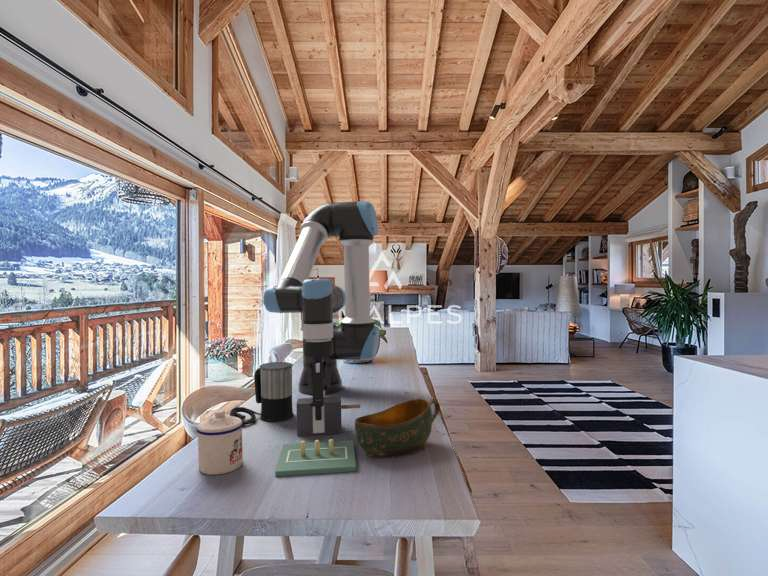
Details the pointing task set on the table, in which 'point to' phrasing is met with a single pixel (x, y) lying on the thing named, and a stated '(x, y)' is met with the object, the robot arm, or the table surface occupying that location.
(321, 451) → the pin board
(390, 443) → the green gold gravy boat
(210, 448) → the teacup with lid
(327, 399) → the block
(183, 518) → the table surface
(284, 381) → the milk frother
